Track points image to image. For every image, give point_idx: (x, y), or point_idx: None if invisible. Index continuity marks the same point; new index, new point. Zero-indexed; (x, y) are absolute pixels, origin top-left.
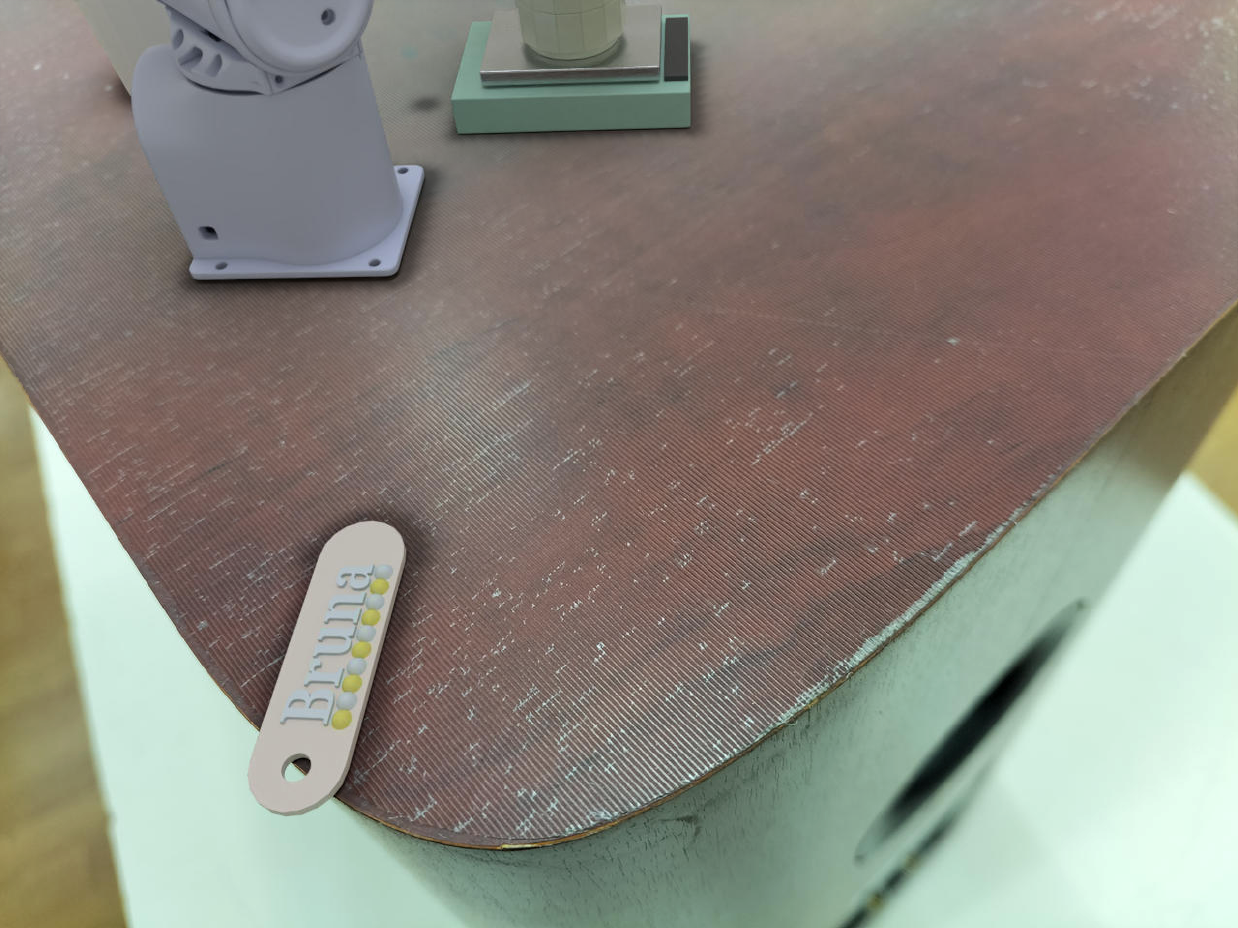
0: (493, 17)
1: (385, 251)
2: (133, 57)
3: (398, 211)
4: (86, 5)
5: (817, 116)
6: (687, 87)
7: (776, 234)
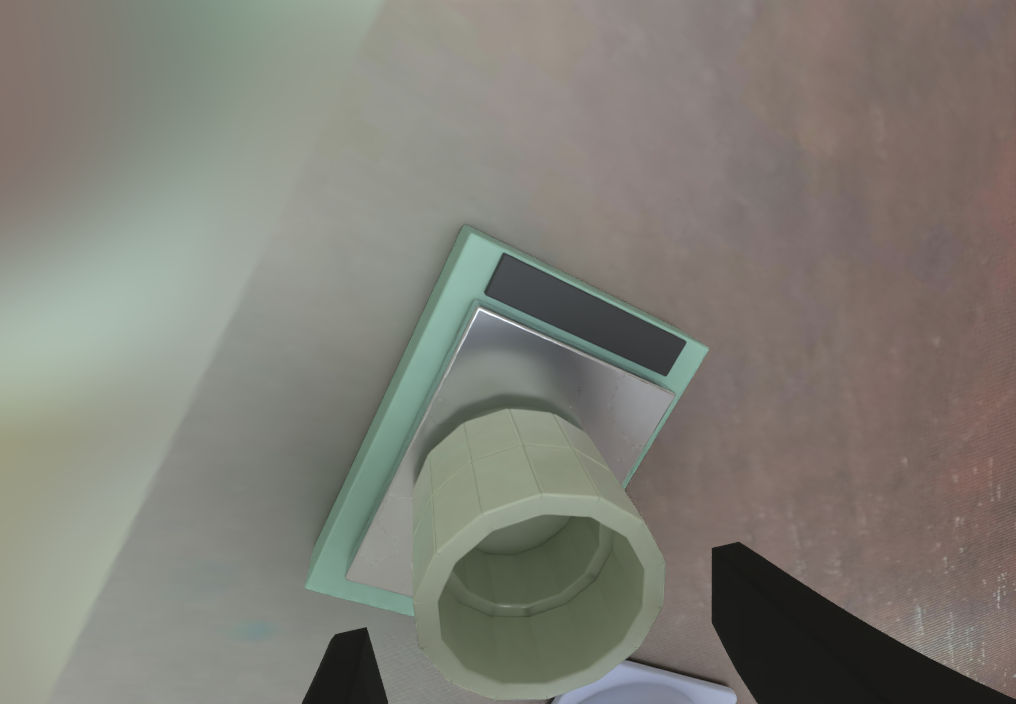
0: (369, 585)
1: (710, 701)
2: None
3: (673, 695)
4: None
5: (767, 132)
6: (699, 348)
7: (923, 329)
